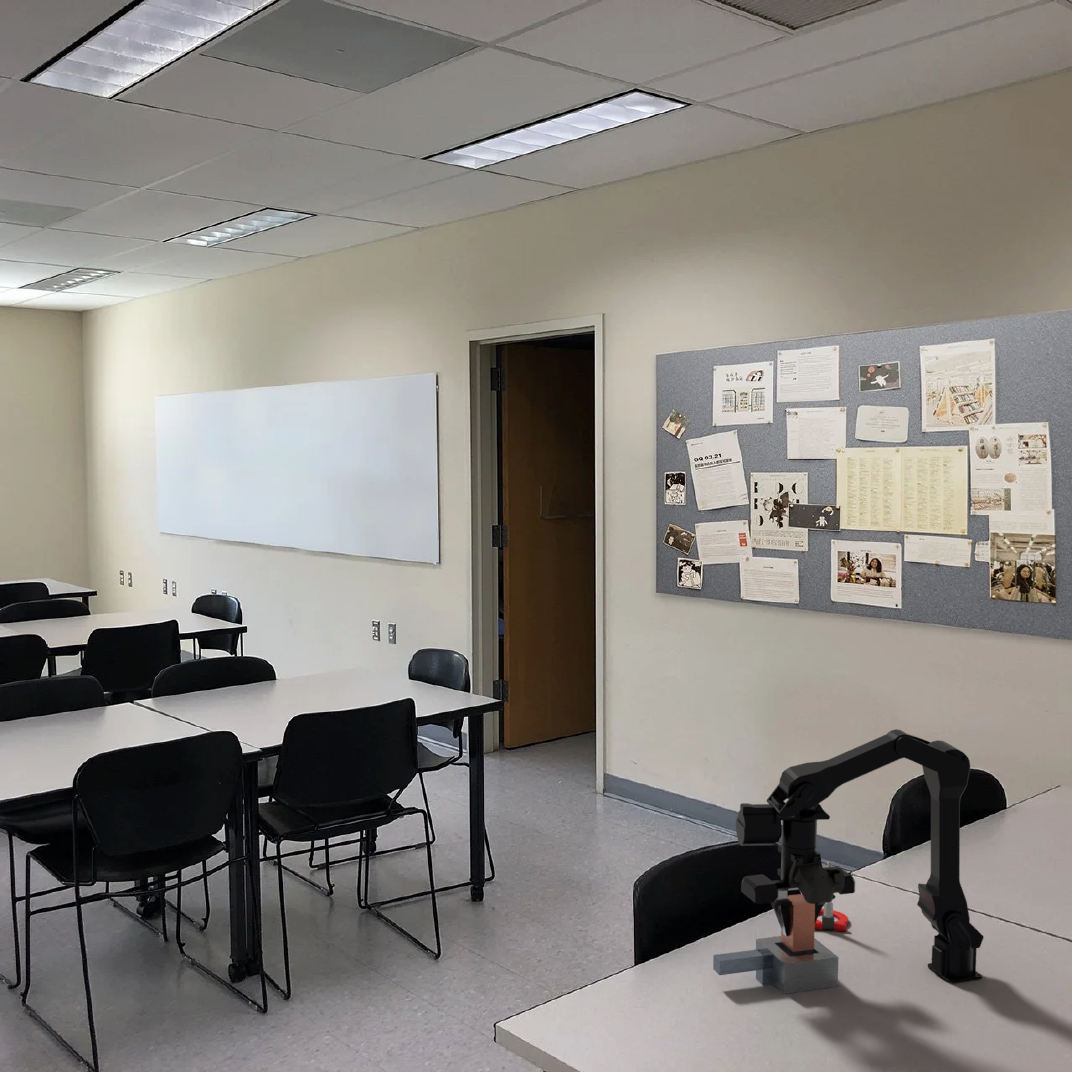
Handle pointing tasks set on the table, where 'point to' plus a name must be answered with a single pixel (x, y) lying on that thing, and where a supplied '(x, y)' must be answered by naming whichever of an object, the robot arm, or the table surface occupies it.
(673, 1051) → the table surface
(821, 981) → the square frame with handle
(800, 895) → the square peg
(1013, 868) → the table surface
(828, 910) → the tow hook
